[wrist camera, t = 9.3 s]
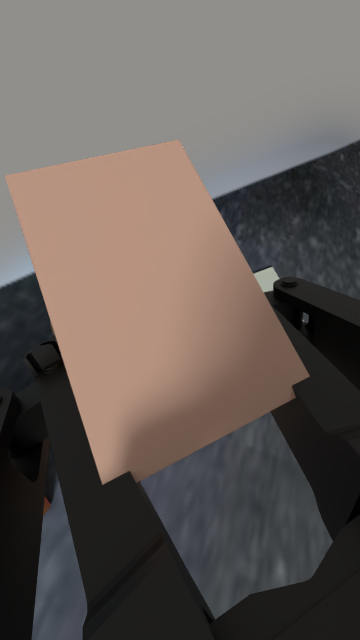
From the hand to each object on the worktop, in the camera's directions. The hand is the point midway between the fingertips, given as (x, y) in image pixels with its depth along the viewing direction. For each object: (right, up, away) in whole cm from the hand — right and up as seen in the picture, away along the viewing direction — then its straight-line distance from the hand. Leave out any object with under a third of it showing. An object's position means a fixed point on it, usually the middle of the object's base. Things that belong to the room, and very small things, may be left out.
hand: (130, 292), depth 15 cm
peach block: (+1, -5, +4) cm, 6 cm away
